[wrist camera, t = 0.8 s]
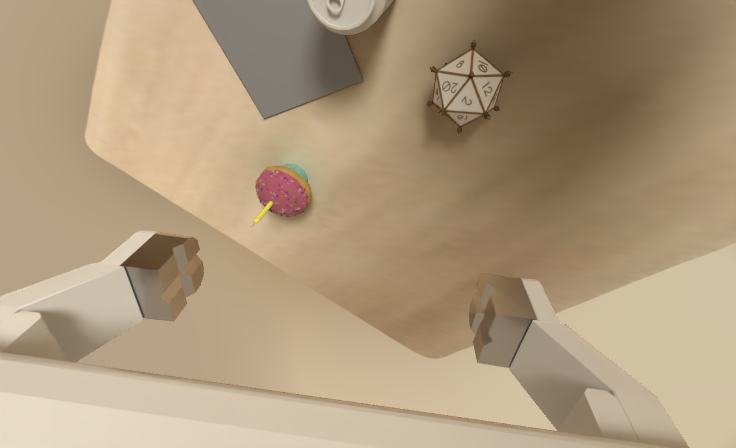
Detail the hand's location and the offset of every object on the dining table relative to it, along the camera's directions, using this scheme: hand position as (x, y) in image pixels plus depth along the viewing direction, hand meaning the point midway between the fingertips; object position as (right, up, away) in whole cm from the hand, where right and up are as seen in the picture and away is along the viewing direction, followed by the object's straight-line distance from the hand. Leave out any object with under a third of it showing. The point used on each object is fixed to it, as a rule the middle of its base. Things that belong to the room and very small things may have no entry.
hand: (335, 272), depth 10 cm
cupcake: (-11, +9, +47) cm, 49 cm away
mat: (-11, +26, +33) cm, 43 cm away
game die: (+13, +19, +32) cm, 40 cm away
